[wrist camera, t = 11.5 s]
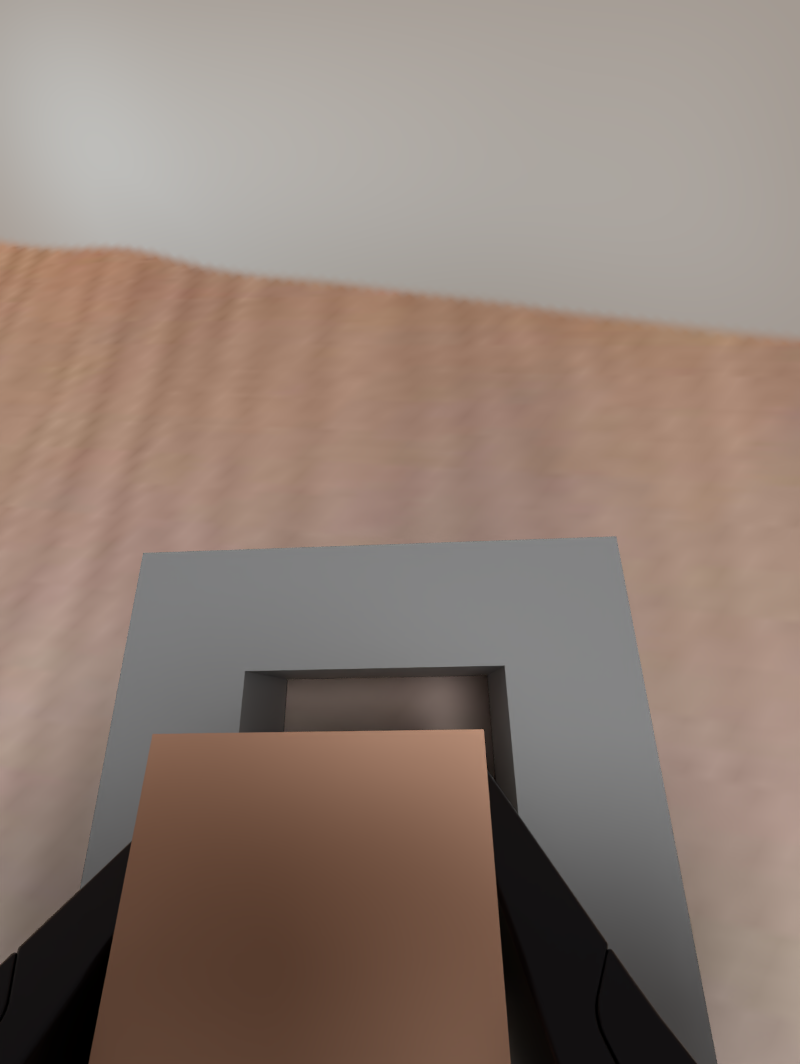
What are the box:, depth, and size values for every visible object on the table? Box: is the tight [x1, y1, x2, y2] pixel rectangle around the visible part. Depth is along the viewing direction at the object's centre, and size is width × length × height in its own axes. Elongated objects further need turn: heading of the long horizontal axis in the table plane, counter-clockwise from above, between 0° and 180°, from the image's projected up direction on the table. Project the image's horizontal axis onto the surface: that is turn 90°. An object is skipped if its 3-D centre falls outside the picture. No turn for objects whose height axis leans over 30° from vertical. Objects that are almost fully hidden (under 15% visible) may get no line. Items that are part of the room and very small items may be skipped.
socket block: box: [80, 536, 717, 1064], centre depth 13 cm, size 14×14×4 cm
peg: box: [89, 729, 511, 1064], centre depth 10 cm, size 4×4×10 cm
